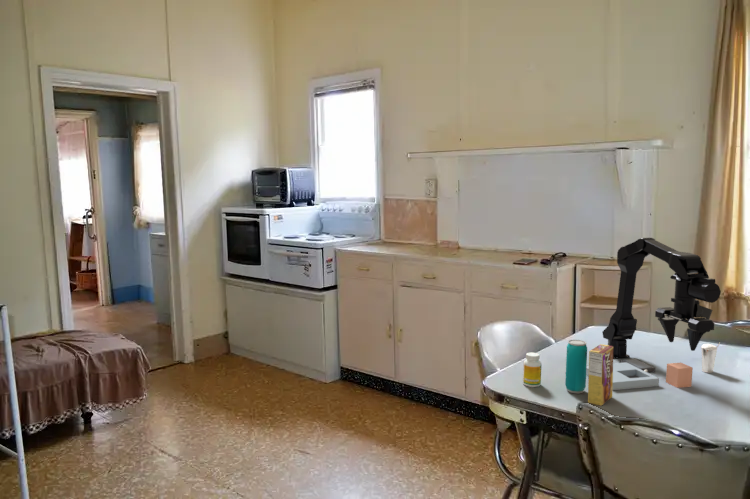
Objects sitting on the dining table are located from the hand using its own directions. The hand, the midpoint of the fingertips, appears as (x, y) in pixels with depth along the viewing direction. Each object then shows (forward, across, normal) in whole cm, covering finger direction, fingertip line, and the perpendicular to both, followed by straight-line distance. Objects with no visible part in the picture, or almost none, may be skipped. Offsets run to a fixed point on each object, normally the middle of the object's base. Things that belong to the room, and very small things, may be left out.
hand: (681, 346), depth 185 cm
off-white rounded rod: (+12, +10, +5) cm, 17 cm away
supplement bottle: (+12, +10, +44) cm, 47 cm away
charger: (+12, 0, 0) cm, 12 cm away
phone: (+12, +17, +2) cm, 21 cm away
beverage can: (+12, +2, +34) cm, 36 cm away
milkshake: (+12, +8, -18) cm, 23 cm away
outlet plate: (+12, +8, +15) cm, 21 cm away
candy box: (+12, -6, +31) cm, 34 cm away
